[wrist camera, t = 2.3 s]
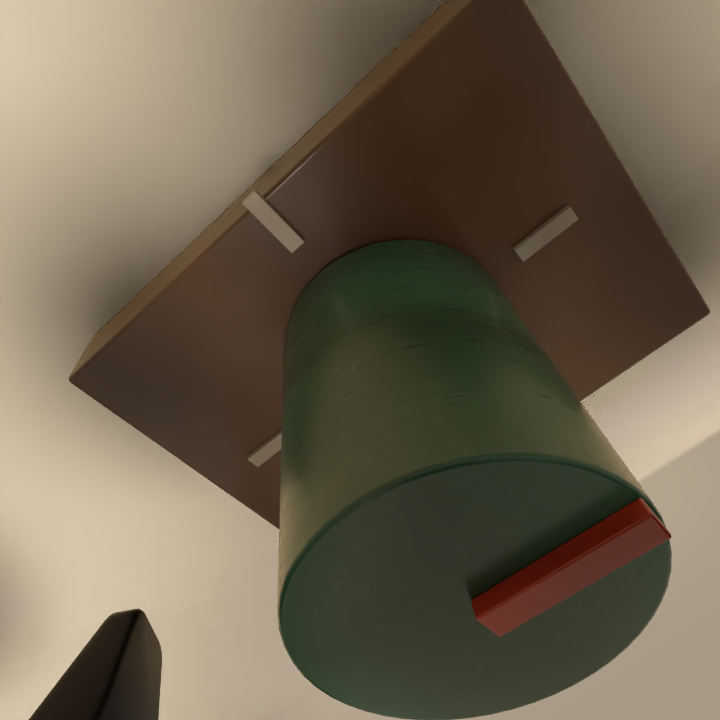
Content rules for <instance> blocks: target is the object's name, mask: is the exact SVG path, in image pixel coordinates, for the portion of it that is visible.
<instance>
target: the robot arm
mask: <svg viewBox="0 0 720 720" xmlns="http://www.w3.org/2000/svg"><path fill="white" fill-rule="evenodd" d="M161 668H162V652H161V646H160V643H159V641H158V639H157V637H156V635H155V633H154V631H153V629H152V627H151V625H150V623H149V621H148V619H147V617H146V615H145V613H144V612H143V611H142V610H140V609H133V610H127V611H122V612H116V613H113V614H112V615H110V616H109V617H108V618H107V619H106V620H105V621H104V623H103V624H102V625H101V626H100V628H99V629H98V630H97V632H96V633H95V634H94V636H93V637H92V638H91V639H90V641H89V642H88V643H87V645H86V646H85V647H84V649H83V650H82V651H81V652H80V654H79V655H78V656H77V658H76V659H75V660H74V662H73V663H72V664H71V666H70V667H69V668H68V669H67V671H66V672H65V673H64V675H63V676H62V677H61V679H60V680H59V681H58V682H57V684H56V685H55V686H54V688H53V689H52V690H51V692H50V693H49V694H48V695H47V697H46V698H45V699H44V701H43V702H42V703H41V705H40V706H39V707H38V709H37V710H36V711H35V712H34V714H33V715H32V716H31V718H30V719H29V720H158V714H159V699H160V683H161Z"/></svg>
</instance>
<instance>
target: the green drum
mask: <svg viewBox="0 0 720 720" xmlns="http://www.w3.org/2000/svg"><path fill="white" fill-rule="evenodd" d="M670 538H671V534H670V533H669V531H668V530H667V528H666V526H665V524H664V522H663V519H662V516H661V515H660V513H659V512H658V510H657V509H656V507H655V506H654V505H653V503H652V502H651V500H650V499H649V497H648V496H647V494H646V493H645V492H644V490H643V489H642V487H641V486H640V485H639V483H638V482H637V480H636V479H635V478H634V476H633V475H632V473H631V472H630V471H629V469H628V468H627V466H626V465H625V464H624V462H623V461H622V459H621V458H620V457H619V455H618V454H617V452H616V451H615V449H614V448H613V447H612V445H611V444H610V442H609V441H608V440H607V438H606V437H605V435H604V434H603V433H602V431H601V430H600V428H599V427H598V426H597V424H596V423H595V421H594V420H593V419H592V417H591V416H590V414H589V413H588V412H587V410H586V409H585V407H584V406H583V405H582V403H581V402H580V400H579V399H578V398H577V396H576V395H575V393H574V392H573V390H572V389H571V388H570V386H569V385H568V383H567V382H566V381H565V379H564V378H563V376H562V375H561V374H560V372H559V371H558V369H557V368H556V367H555V365H554V364H553V362H552V361H551V360H550V358H549V357H548V355H547V354H546V353H545V351H544V350H543V348H542V347H541V346H540V344H539V343H538V341H537V340H536V338H535V337H534V336H533V334H532V333H531V331H530V330H529V329H528V327H527V326H526V324H525V323H524V322H523V320H522V319H521V317H520V316H519V315H518V313H517V312H516V310H515V309H514V308H513V306H512V305H511V303H510V302H509V301H508V299H507V298H506V296H505V295H504V294H503V292H502V291H501V289H500V288H499V287H498V285H497V284H496V282H495V281H494V279H493V278H492V277H491V276H490V275H489V274H488V273H487V271H486V270H485V269H484V268H483V267H482V266H480V265H479V264H478V263H477V262H475V261H474V260H473V259H471V258H470V257H468V256H466V255H465V254H463V253H461V252H459V251H457V250H455V249H452V248H450V247H447V246H445V245H441V244H437V243H433V242H429V241H420V240H393V241H386V242H380V243H376V244H373V245H369V246H365V247H362V248H360V249H358V250H355V251H353V252H351V253H348V254H346V255H345V256H343V257H341V258H339V259H338V260H336V261H334V262H333V263H332V264H330V265H329V266H328V267H326V268H325V269H324V270H322V271H321V272H320V273H319V274H318V275H317V276H316V277H315V278H314V279H313V280H312V281H311V282H310V283H309V284H308V286H307V287H306V288H305V290H304V291H303V292H302V293H301V295H300V297H299V298H298V300H297V302H296V304H295V305H294V307H293V309H292V312H291V314H290V317H289V319H288V323H287V327H286V331H285V338H284V353H283V397H282V440H281V484H280V527H279V570H278V623H279V631H280V634H281V637H282V640H283V644H284V646H285V648H286V650H287V652H288V654H289V656H290V658H291V660H292V661H293V663H294V664H295V666H296V667H297V668H298V669H299V671H300V672H301V673H302V674H303V676H304V677H305V678H307V679H308V680H309V681H310V682H311V683H312V684H313V685H314V686H316V687H317V688H318V689H320V690H321V691H323V692H325V693H326V694H327V695H329V696H331V697H332V698H334V699H337V700H339V701H341V702H343V703H345V704H347V705H349V706H352V707H355V708H358V709H361V710H363V711H366V712H371V713H375V714H379V715H383V716H388V717H395V718H402V719H413V720H451V719H464V718H473V717H479V716H485V715H491V714H495V713H499V712H503V711H507V710H512V709H515V708H518V707H522V706H524V705H528V704H531V703H534V702H536V701H539V700H542V699H544V698H547V697H549V696H552V695H555V694H557V693H559V692H561V691H563V690H565V689H567V688H569V687H571V686H573V685H575V684H577V683H579V682H580V681H582V680H584V679H585V678H587V677H589V676H590V675H592V674H594V673H595V672H597V671H598V670H599V669H601V668H602V667H604V666H605V665H607V664H608V663H610V662H611V661H612V660H613V659H614V658H616V657H617V656H618V655H619V654H620V653H621V652H622V651H624V650H625V649H626V648H627V647H628V646H629V645H630V644H631V643H632V642H633V641H634V640H635V639H636V638H637V637H638V636H639V635H640V633H641V632H642V631H643V630H644V628H645V627H646V626H647V624H648V623H649V622H650V620H651V619H652V617H653V616H654V614H655V612H656V610H657V609H658V607H659V605H660V604H661V601H662V599H663V597H664V594H665V592H666V589H667V586H668V582H669V577H670V573H671V554H672V553H671V546H670V541H669V539H670Z"/></svg>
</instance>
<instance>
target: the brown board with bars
mask: <svg viewBox="0 0 720 720" xmlns="http://www.w3.org/2000/svg"><path fill="white" fill-rule="evenodd" d="M393 240H420V241H429V242H433V243H437V244H441V245H445V246H447V247H450V248H452V249H455V250H457V251H459V252H461V253H463V254H465V255H466V256H468V257H470V258H471V259H473V260H474V261H475V262H477V263H478V264H479V265H480V266H482V267H483V268H484V269H485V270H486V271H487V273H488V274H489V275H490V276H491V277H492V278H493V279H494V281H495V282H496V284H497V285H498V287H499V288H500V289H501V291H502V292H503V294H504V295H505V296H506V298H507V299H508V301H509V302H510V303H511V305H512V306H513V308H514V309H515V310H516V312H517V313H518V315H519V316H520V317H521V319H522V320H523V322H524V323H525V324H526V326H527V327H528V329H529V330H530V331H531V333H532V334H533V336H534V337H535V338H536V340H537V341H538V343H539V344H540V346H541V347H542V348H543V350H544V351H545V353H546V354H547V355H548V357H549V358H550V360H551V361H552V362H553V364H554V365H555V367H556V368H557V369H558V371H559V372H560V374H561V375H562V376H563V378H564V379H565V381H566V382H567V383H568V385H569V386H570V388H571V389H572V390H573V392H574V393H575V395H576V396H577V398H578V399H579V400H580V401H581V400H583V399H584V398H586V397H587V396H589V395H590V394H592V393H593V392H595V391H596V390H598V389H599V388H601V387H602V386H604V385H605V384H606V383H608V382H609V381H611V380H612V379H614V378H615V377H617V376H618V375H620V374H621V373H623V372H624V371H626V370H627V369H629V368H630V367H632V366H633V365H635V364H636V363H637V362H639V361H640V360H642V359H643V358H645V357H646V356H648V355H649V354H651V353H652V352H654V351H655V350H657V349H658V348H660V347H661V346H663V345H664V344H666V343H667V342H668V341H670V340H671V339H673V338H674V337H676V336H677V335H679V334H680V333H682V332H683V331H685V330H686V329H688V328H689V327H691V326H692V325H694V324H695V323H697V322H698V321H700V320H701V319H702V318H704V317H705V316H707V315H708V314H709V313H710V309H709V308H708V306H707V304H706V303H705V301H704V299H703V298H702V296H701V294H700V293H699V291H698V289H697V288H696V286H695V284H694V283H693V281H692V279H691V278H690V276H689V274H688V273H687V271H686V269H685V268H684V266H683V264H682V263H681V261H680V259H679V258H678V256H677V254H676V253H675V251H674V249H673V248H672V246H671V244H670V243H669V241H668V239H667V238H666V236H665V234H664V233H663V231H662V229H661V228H660V226H659V224H658V223H657V221H656V219H655V218H654V216H653V214H652V213H651V211H650V209H649V208H648V206H647V204H646V203H645V201H644V199H643V198H642V196H641V194H640V193H639V191H638V189H637V188H636V186H635V184H634V183H633V181H632V179H631V178H630V176H629V174H628V173H627V171H626V169H625V168H624V166H623V164H622V163H621V161H620V159H619V158H618V156H617V154H616V153H615V151H614V149H613V148H612V146H611V144H610V143H609V141H608V139H607V138H606V136H605V134H604V133H603V131H602V129H601V128H600V126H599V124H598V123H597V121H596V119H595V118H594V116H593V114H592V113H591V111H590V109H589V108H588V106H587V104H586V103H585V101H584V99H583V98H582V96H581V94H580V93H579V91H578V89H577V88H576V86H575V85H574V83H573V81H572V80H571V78H570V76H569V75H568V73H567V71H566V70H565V68H564V66H563V65H562V63H561V61H560V60H559V58H558V56H557V55H556V53H555V51H554V50H553V48H552V46H551V45H550V43H549V41H548V40H547V38H546V36H545V35H544V33H543V31H542V30H541V28H540V26H539V25H538V23H537V21H536V20H535V18H534V16H533V15H532V13H531V11H530V10H529V8H528V6H527V5H526V3H525V1H524V0H446V1H445V2H444V3H443V4H442V5H441V6H440V7H439V8H438V9H437V10H436V11H435V12H434V13H433V14H432V15H431V16H430V17H429V18H428V19H426V20H425V21H424V22H423V23H422V24H421V25H420V26H419V27H418V28H417V29H416V30H415V31H414V32H413V33H412V34H411V35H410V36H409V37H408V38H407V39H405V40H404V41H403V42H402V43H401V44H400V45H399V46H398V47H397V48H396V49H395V50H394V51H393V52H392V53H391V54H390V55H389V56H388V57H387V58H386V59H384V60H383V61H382V62H381V63H380V64H379V65H378V66H377V67H376V68H375V69H374V70H373V71H372V72H371V73H370V74H369V75H368V76H367V77H366V78H365V79H363V80H362V81H361V82H360V83H359V84H358V85H357V86H356V87H355V88H354V89H353V90H352V91H351V92H350V93H349V94H348V95H347V96H346V97H345V98H344V99H342V100H341V101H340V102H339V103H338V104H337V105H336V106H335V107H334V108H333V109H332V110H331V111H330V112H329V113H328V114H327V115H326V116H325V117H324V118H323V119H321V120H320V121H319V122H318V123H317V124H316V125H315V126H314V127H313V128H312V129H311V130H310V131H309V132H308V133H307V134H306V135H305V136H304V137H303V138H302V139H300V140H299V141H298V142H297V143H296V144H295V145H294V146H293V147H292V148H291V149H290V150H289V151H288V152H287V153H286V154H285V155H284V156H283V157H282V158H281V159H279V160H278V161H277V162H276V163H275V164H274V165H273V166H272V167H271V168H270V169H269V170H268V171H267V172H266V173H265V174H264V175H263V176H262V177H261V178H260V179H258V180H257V181H256V182H255V183H254V184H253V185H252V186H251V187H250V188H249V189H248V190H247V191H246V192H245V193H244V194H243V195H242V196H241V197H240V198H239V199H237V200H236V201H235V202H234V203H233V204H232V205H231V206H230V207H229V208H228V209H227V210H226V211H225V212H224V213H223V214H222V215H221V216H220V217H219V218H218V219H216V220H215V221H214V222H213V223H212V224H211V225H210V226H209V227H208V228H207V229H206V230H205V231H204V232H203V233H202V234H201V235H200V236H199V237H198V238H197V239H195V240H194V241H193V242H192V243H191V244H190V245H189V246H188V247H187V248H186V249H185V250H184V251H183V252H182V253H181V254H180V255H179V256H178V257H177V258H176V259H174V260H173V261H172V262H171V263H170V264H169V265H168V266H167V267H166V268H165V269H164V270H163V271H162V272H161V273H160V274H159V275H158V276H157V277H156V278H155V279H153V280H152V281H151V282H150V283H149V284H148V285H147V286H146V287H145V288H144V289H143V290H142V291H141V292H140V293H139V294H138V295H137V296H136V297H135V298H134V299H132V300H131V301H130V302H129V303H128V304H127V305H126V306H125V307H124V308H123V309H122V310H121V311H120V312H119V313H118V314H117V315H116V316H115V317H114V318H113V319H111V320H110V321H109V322H108V323H107V324H106V325H105V326H104V327H103V328H102V329H101V330H100V331H99V332H98V333H97V334H96V335H95V336H94V337H93V338H92V339H91V341H90V342H89V344H88V346H87V348H86V349H85V351H84V353H83V354H82V356H81V358H80V360H79V361H78V363H77V365H76V366H75V368H74V370H73V372H72V373H71V375H70V377H69V381H70V382H71V383H72V384H73V385H75V386H76V387H78V388H79V389H80V390H82V391H83V392H85V393H86V394H88V395H89V396H90V397H92V398H93V399H95V400H96V401H98V402H99V403H100V404H102V405H103V406H105V407H106V408H107V409H109V410H110V411H112V412H113V413H115V414H116V415H117V416H119V417H120V418H122V419H123V420H125V421H126V422H127V423H129V424H130V425H132V426H133V427H134V428H136V429H137V430H139V431H140V432H142V433H143V434H144V435H146V436H147V437H149V438H150V439H152V440H153V441H154V442H156V443H157V444H159V445H160V446H161V447H163V448H164V449H166V450H167V451H169V452H170V453H171V454H173V455H174V456H176V457H177V458H179V459H180V460H181V461H183V462H184V463H186V464H187V465H188V466H190V467H191V468H193V469H194V470H196V471H197V472H198V473H200V474H201V475H203V476H204V477H206V478H207V479H208V480H210V481H211V482H213V483H214V484H215V485H217V486H218V487H220V488H221V489H223V490H224V491H225V492H227V493H228V494H230V495H231V496H233V497H234V498H235V499H237V500H238V501H240V502H241V503H243V504H244V505H245V506H247V507H248V508H250V509H251V510H252V511H254V512H255V513H257V514H258V515H260V516H261V517H262V518H264V519H265V520H267V521H268V522H270V523H271V524H272V525H274V526H275V527H277V528H278V529H279V527H280V484H281V440H282V397H283V353H284V338H285V331H286V327H287V323H288V319H289V317H290V314H291V312H292V309H293V307H294V305H295V304H296V302H297V300H298V298H299V297H300V295H301V293H302V292H303V291H304V290H305V288H306V287H307V286H308V284H309V283H310V282H311V281H312V280H313V279H314V278H315V277H316V276H317V275H318V274H319V273H320V272H321V271H322V270H324V269H325V268H326V267H328V266H329V265H330V264H332V263H333V262H334V261H336V260H338V259H339V258H341V257H343V256H345V255H346V254H348V253H351V252H353V251H355V250H358V249H360V248H362V247H365V246H369V245H373V244H376V243H380V242H386V241H393Z"/></svg>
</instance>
